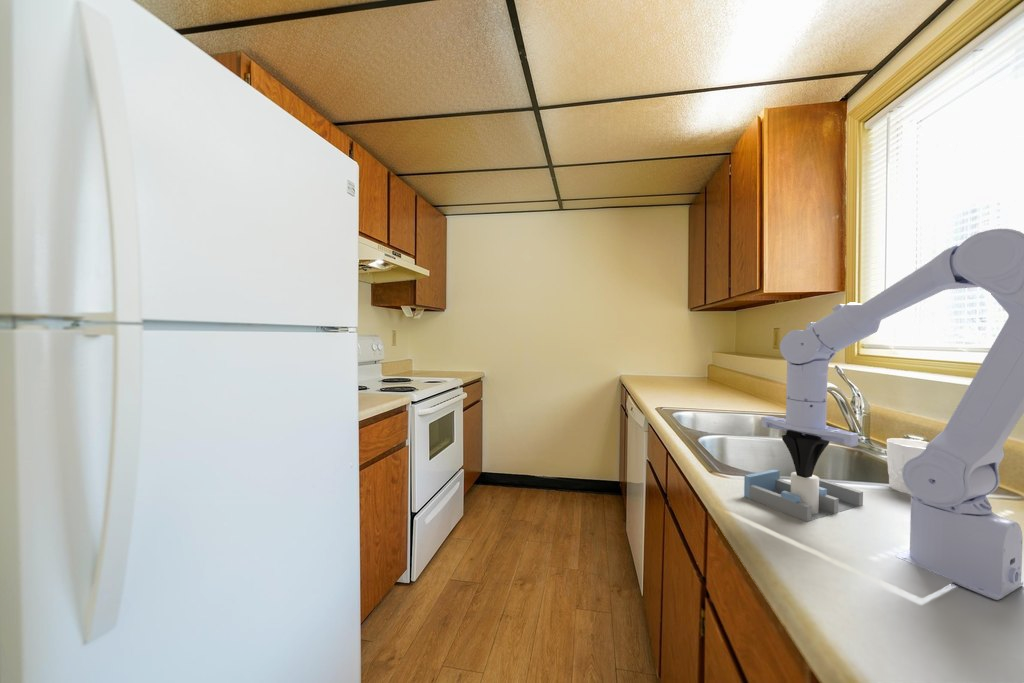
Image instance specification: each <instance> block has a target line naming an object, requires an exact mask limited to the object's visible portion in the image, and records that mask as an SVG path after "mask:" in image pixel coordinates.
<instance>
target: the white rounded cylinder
mask: <svg viewBox="0 0 1024 683" xmlns="http://www.w3.org/2000/svg"><path fill="white" fill-rule="evenodd" d="M819 479H820V477H819V476H817V475H814V474H812V476H811V477H807V478H804V477H800V476H797V474H796V471H792V472H790V483H791V493H794V494H797V495H799V496H800V502H802V503H805V504H808V505H811V506H812V515H816V514H818V513H819Z"/></svg>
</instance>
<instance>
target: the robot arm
mask: <svg viewBox="0 0 1024 683" xmlns="http://www.w3.org/2000/svg"><path fill="white" fill-rule="evenodd" d="M970 288H981V289H983V290H985V291H987V292H988V293H990V295H991V296H992V297H993V298H994V299H995V301H996V302H997V303H998V304H999V305H1000V306H1001V307H1002V309H1003V310H1005V312H1006V313H1007V315H1008V318H1007V319H1006V321H1005V323H1004V324H1003V326H1002V328H1001V330H1000V332H999V333H998V335H997V336H996V339H994V342H993V344H992V345H991V347H990V349H989V351H988V352H987V354H986V356H985V357H984V360H983V361H982V362H981V364H980V366H979V368H978V370H977V371H976V373H975V375H974V377H973V379H972V380H971V382H970V383H969V385H968V387H967V389H966V391H965V392H964V394H963V396H962V398H961V400H960V401H959V402H958V405H957V406H956V408H955V410H954V412H953V414H952V415H951V417H950V419H949V420H948V421H947V424H946V425H945V428H944V429H943V430H942V431H941V432H940V433H938V434H937V435H935V437H934V438H933V439H932V440H930V441H928V442H929V443H928V445H927V446H926V448H925V450H924V451H923V452H922V453H921V454H920V455H918V456H916V457H914V458H912V459H910V460H909V461H907V463H906V464H905V465H904V467H903V470H902V477H903V480H904V483H905V485H906V486H907V488H908V489H909V490H910V491H911V495H910V522H909V523H910V524H909V525H910V526H909V549H908V550H905V551H903V552H900V553H897V554H896V555H895V558H897V559H900V560H902V561H905V562H907V563H910V564H912V565H914V566H917V567H919V568H922V569H924V570H927V571H930V572H931V573H935V574H937V575H939V576H942V577H944V578H947V579H949V580H952V581H953V582H952V583H953V584H956V585H958V586H961V587H963V588H964V589H967V590H970V591H971V592H972V591H973V592H975V593H978V594H979V595H983V596H985V597H987V598H990V599H992V600H996V601H998V600H1001V599H1003V598H1005V597H1006V596H1008V595H1009V594H1011V593H1012V592H1014V591H1015V590H1017V589H1018V588H1020V587H1022V586H1023V585H1024V581H1023V580H1022V566H1023V564H1022V563H1023V530H1022V527H1021V524H1019V523H1018V522H1017V521H1014V520H1011V519H1009V518H1005V517H1003V516H1001V515H998V514H996V513H994V512H993V510H992V509H993V507H992V505H991V503H990V501H989V499H988V497H987V496H988V495H990V494H993V493H994V492H995V491H996V490H997V489H998V487H999V486H1000V481H1001V478H1000V472H999V468H1000V464H1001V463H1002V460H1003V459H1004V457H1005V452H1004V444H1006V441H1007V440H1008V439H1009V436H1010V435H1011V433H1012V432H1013V431H1014V429H1015V427H1016V426H1017V424H1018V422H1019V421H1020V420H1021V418H1022V416H1023V415H1024V233H1023V232H1021V231H1020V230H1016V229H1012V228H1003V227H1002V228H990V229H986V230H983V231H980V232H977V233H975V234H973V235H971V236H970V237H968V238H966V239H965V240H964V241H963V242H961V244H959V245H958V244H954V245H952V246H951V247H948V248H947V249H944V250H943V251H941V252H940V253H939V254H938V255H936V256H935V257H933V258H932V259H930V261H928V262H926V263H925V264H924V265H922V266H920V267H919V268H918V269H916V270H914V271H912V272H911V273H909V274H908V275H906V276H904V277H903V278H902V279H900V280H898V281H897V282H896V283H894V284H892V285H890V286H889V287H887V288H886V289H884V290H883V291H881V292H879V293H877V294H876V295H874V296H873V297H871V298H870V299H869V300H866V301H865V302H864V303H858V302H849V303H846V304H843V303H839V304H837V305H835V306H833V307H832V310H833V312H831V313H829V314H828V315H826V316H824V317H823V318H821V319H819V320H817V321H816V322H815V321H811V322H809V323H807V324H806V328H805V330H803V329H793V330H790V331H788V333H787V334H785V335H784V336H783V338H781V341H780V344H779V351H780V354H781V356H782V357H783V359H785V360H786V395H785V398H786V401H785V403H786V404H785V418H783V417H775V416H772V415H771V416H769V415H765V416H761V420H760V421H761V422H760V423H761V425H760V426H761V427H762V428H766V429H768V428H770V429H774V430H779V431H783V432H785V434H784V435H783V434H782V436H781V438H782V439H781V440H782V442H783V443H784V445H785V446H786V448H787V449H788V451H789V454H790V456H791V459H792V462H793V465H794V469H795V472H796V474H797V476H800V477H804V478H807V477H811V476H812V475H814V471H815V467H816V465H817V462H818V461H819V459H820V457H821V454H822V453H823V452H824V451H825V449H826V448H827V447H828V446H829V445H830V442H833V443H836V444H842V445H843V446H845V447H848V448H849V447H850V448H852V447H857V446H859V433H856V432H852V431H847V430H845V429H840V428H836V427H834V426H829V425H827V419H828V418H827V412H828V410H827V409H828V408H827V407H828V373H829V372H828V371H829V363H830V362H831V360H833V358H834V357H835V355H837V353H838V352H840V351H842V350H844V349H846V348H849V347H850V346H853V345H854V344H856V343H858V342H860V341H862V340H863V339H866V338H867V337H870V336H871V335H873V334H876V333H877V332H878V331H879V328H880V325H881V321H883V320H884V319H887V318H888V317H890V316H893V315H895V314H896V313H897V314H898V312H901V311H903V310H905V309H907V308H910V307H911V306H914V305H916V304H917V303H919V302H922V301H925V300H926V299H928V298H931V297H933V296H934V295H936V294H939V293H941V292H943V291H946V290H947V291H948V290H957V289H958V290H959V289H970Z"/></svg>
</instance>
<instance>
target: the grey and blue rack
mask: <svg viewBox="0 0 1024 683" xmlns="http://www.w3.org/2000/svg"><path fill="white" fill-rule="evenodd" d="M780 476H781V475H780V470H777V469H770V470H769V469H768V470H765V471H760V472H754V473H750V474H746V475H744V476H743V477H744V478H743V480H744V482H743V483H744V484H743V485H744V486H743V487H744V488H743V491H744V492H743V497H744V498H745V499H746V498H747V499H749V500H752V501H754V502H757V503H759V504H761V505H764V506H766V507H769V508H771V509H774V510H777V511H779V512H781V513H784V514H786V515H789V516H792V517H794V518H796V519H799V520H801V521H804V522H806V523H808V522H812V521H814V520H815V521H816V520H818V519H822V518H824V517H828V516H831V515H836V514H838V513H841V512H844V511H848V510H851V509H854V508H855V509H856V508H857V507H861V506H864V501H863V500H864V491H861V490H858V489H856V488H852V487H848V486H846V485H842V484H838V483H836V482H832V481H829V480H825V479H823V478H819V513H818V514H816V515H812V506H811V505H808V504H805V503H802V502H800V496H799V495H797V494H794V493H791V481H787V480H784V479H780Z"/></svg>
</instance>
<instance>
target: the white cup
mask: <svg viewBox="0 0 1024 683" xmlns="http://www.w3.org/2000/svg"><path fill="white" fill-rule="evenodd" d="M929 442H930V441H925V440H924V441H923V440H918V439H911V438H900V437H899V438H897V437H892V438H891V437H890V438H889V437H888V438H887V439H886V454H887V455H886V456H887V457H886V458H887V462H886V463H887V473H888V487H889V488H891V489H892V490H895V491H898V493H899V492H900V493H903V494H908V495H910V496H911V491H910V490H909V489H908V488H907V486H906V485H905V483H904V480H903V477H902V470H903V467H904V465H905V464H906V463H907V461H909V460H910V459H912V458H914V457H916V456H918V455H920V454H921V453H922V452H923V451H924V450H925V448H926V446H927V445H928V443H929Z"/></svg>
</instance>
